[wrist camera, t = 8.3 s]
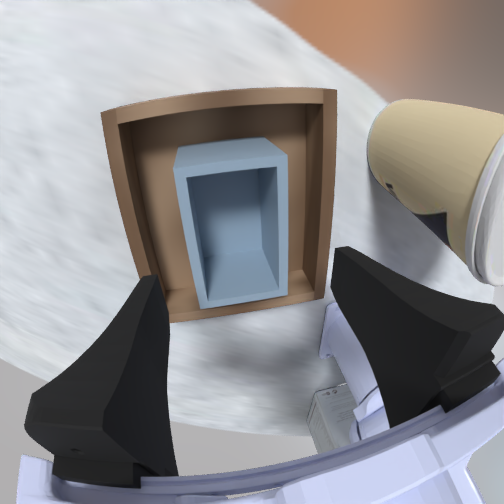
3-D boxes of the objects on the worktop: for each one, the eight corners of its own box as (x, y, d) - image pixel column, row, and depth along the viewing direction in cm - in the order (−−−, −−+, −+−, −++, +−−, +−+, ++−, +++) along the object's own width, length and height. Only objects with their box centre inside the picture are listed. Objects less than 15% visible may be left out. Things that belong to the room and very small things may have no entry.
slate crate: (262, 136, 17) (287, 155, 13) (267, 250, 21) (287, 295, 17) (178, 146, 16) (173, 168, 12) (197, 260, 20) (200, 309, 16)
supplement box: (358, 405, 41) (395, 490, 27) (305, 420, 40) (336, 513, 26) (375, 373, 36) (425, 472, 22) (314, 390, 35) (357, 504, 21)
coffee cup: (340, 189, 21) (452, 293, 10) (374, 68, 16) (525, 91, 6) (425, 210, 23) (520, 291, 13) (456, 114, 18) (572, 163, 8)
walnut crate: (312, 87, 16) (337, 89, 13) (308, 270, 24) (323, 298, 21) (117, 107, 15) (100, 112, 12) (158, 293, 22) (155, 324, 19)
